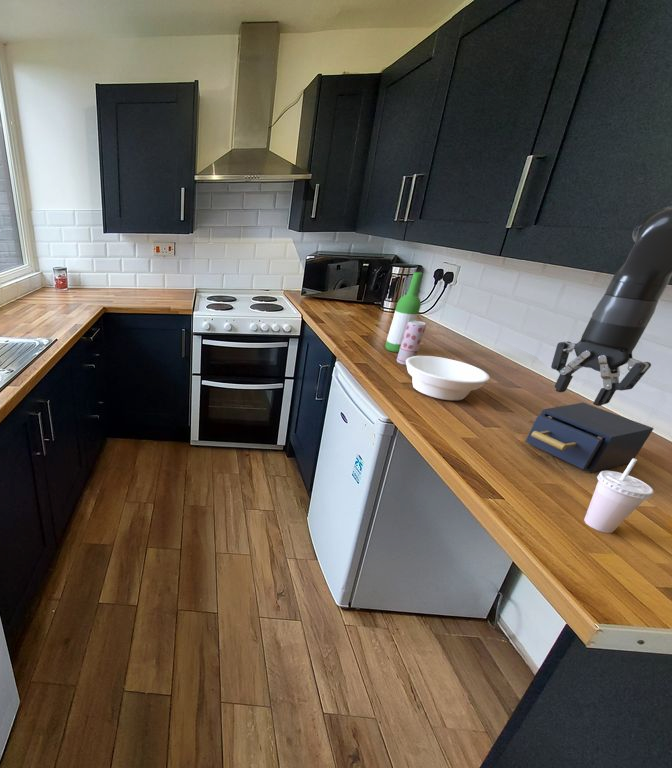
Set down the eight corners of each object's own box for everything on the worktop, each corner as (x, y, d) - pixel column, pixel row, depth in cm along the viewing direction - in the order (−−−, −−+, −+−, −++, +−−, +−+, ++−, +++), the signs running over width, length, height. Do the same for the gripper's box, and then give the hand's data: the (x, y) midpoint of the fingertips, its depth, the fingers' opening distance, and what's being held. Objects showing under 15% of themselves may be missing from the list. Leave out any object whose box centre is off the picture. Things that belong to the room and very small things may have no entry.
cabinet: (591, 473, 86) (612, 437, 82) (526, 442, 97) (543, 409, 93) (632, 462, 90) (654, 428, 87) (566, 434, 101) (583, 402, 98)
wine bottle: (407, 354, 154) (432, 275, 141) (384, 351, 156) (407, 273, 144) (405, 349, 160) (429, 272, 148) (384, 345, 163) (405, 270, 150)
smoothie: (570, 507, 76) (607, 445, 70) (618, 522, 72) (661, 458, 66) (577, 527, 71) (617, 462, 65) (629, 544, 67) (676, 477, 62)
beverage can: (395, 358, 149) (407, 319, 143) (413, 361, 147) (425, 321, 141) (396, 363, 144) (408, 323, 138) (414, 366, 142) (427, 325, 136)
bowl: (389, 375, 133) (396, 352, 130) (459, 382, 130) (468, 359, 126) (412, 403, 115) (421, 377, 111) (494, 412, 111) (506, 386, 108)
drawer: (567, 473, 84) (584, 444, 81) (510, 444, 94) (523, 417, 91) (621, 460, 90) (639, 432, 87) (562, 434, 99) (575, 408, 96)
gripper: (683, 329, 72) (634, 411, 79) (585, 310, 84) (550, 382, 91) (658, 332, 70) (610, 416, 77) (562, 311, 82) (528, 385, 89)
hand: (578, 397), depth 84 cm, fingers open, 6 cm apart
